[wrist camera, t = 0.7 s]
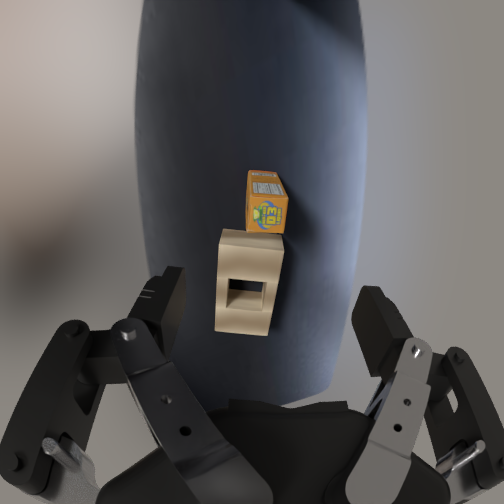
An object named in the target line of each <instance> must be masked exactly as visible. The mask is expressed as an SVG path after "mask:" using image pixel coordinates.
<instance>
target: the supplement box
mask: <svg viewBox="0 0 504 504" xmlns="http://www.w3.org/2000/svg"><path fill="white" fill-rule="evenodd" d="M288 200H289V198H288V196H287V194H286V192H285V190H284V187H283V185H282V183H281V181H280V179H279V177H278V175H277V173H276V172H269V171H258V170H249V172H248V181H247V194H246V231H247V233H284V228H285V221H286V214H287V207H288Z"/></svg>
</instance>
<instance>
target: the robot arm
mask: <svg viewBox="0 0 504 504" xmlns="http://www.w3.org/2000/svg"><path fill="white" fill-rule="evenodd" d="M185 304H186V280H185V268H181V267H173V266H167V268H166V270H165V272H164V274H163V275H162V277H161V276H154V277H153V278H151V279H150V280H149V281H147V283H146V284H145V286H144V288H143V291H141V293H140V295H139V297H138V298H137V300H136V302H135V304H134V306H133V308H132V309H131V311H130V313H129V315H128V317H127V318H125V319H121V320H119V321H117V322H116V323H114V325H113V326H112V327H111V329H110V330H99V331H90V329H89V326H88V325H87V324H86V323H85V322H83V321H81V320H70V321H67V322H65V323H63V324H62V325H61V326H60V327H59V328H58V329H57V331H56V333H55V334H54V336H53V337H52V339H51V341H50V342H49V344H48V346H47V348H46V349H45V351H44V353H43V354H42V356H41V358H40V360H39V361H38V363H37V365H36V367H35V369H34V371H33V373H32V374H31V377H30V378H29V380H28V382H27V384H26V386H25V388H24V390H23V392H22V394H21V397H20V398H19V401H18V403H17V405H16V407H15V409H14V412H13V414H12V416H11V418H10V421H9V423H8V426H7V428H6V431H5V433H4V436H3V439H2V441H1V444H0V474H1V476H2V477H3V479H4V480H6V481H7V482H8V483H10V484H12V485H13V486H15V487H17V488H19V489H20V490H21V491H23V492H24V493H26V494H27V495H30V496H32V497H33V498H35V499H38V500H39V501H42V502H44V503H48V504H463V503H465V502H467V501H469V500H471V499H473V498H475V497H476V496H478V495H480V494H482V493H484V492H486V491H487V490H489V489H491V488H492V487H494V486H496V485H497V484H499V483H500V482H502V481H504V428H503V426H502V423H501V421H500V419H499V416H498V414H497V411H496V409H495V407H494V405H493V402H492V400H491V398H490V396H489V394H488V392H487V390H486V387H485V386H484V384H483V382H482V380H481V377H480V376H479V374H478V372H477V370H476V368H475V366H474V364H473V362H472V360H471V359H470V357H469V355H468V354H467V353H466V352H465V351H464V350H463V349H461V348H458V347H450V348H449V349H448V351H447V352H446V354H445V355H442V354H438V353H433V352H432V349H431V347H430V346H429V345H428V344H427V343H426V342H425V341H423V340H421V339H419V338H414V337H413V335H412V333H411V332H410V330H409V328H408V326H407V324H406V322H405V321H404V320H403V317H402V315H401V314H400V313H399V310H398V309H397V307H396V306H395V304H394V303H393V302H392V301H390V299H389V298H386V297H385V295H384V293H383V292H382V290H381V288H380V287H377V286H363V287H362V289H361V291H360V293H359V296H358V299H357V301H356V304H355V307H354V309H353V312H352V319H351V320H352V326H353V328H354V331H355V333H356V336H357V339H358V342H359V344H360V347H361V350H362V353H363V355H364V358H365V361H366V364H367V367H368V370H369V373H370V375H371V377H378V376H381V378H382V380H381V381H380V383H379V384H378V387H377V389H376V391H375V393H374V395H373V397H372V399H371V401H370V403H369V405H368V407H367V409H366V411H365V413H364V414H363V413H361V412H358V411H355V410H351V409H348V405H347V401H335V402H319V403H314V404H310V405H306V406H302V407H297V408H291V409H290V408H285V407H281V406H277V405H273V404H269V403H265V402H261V401H250V400H237V399H229V404H228V407H223V408H218V409H214V410H211V411H208V412H206V413H205V411H204V410H203V408H202V407H201V405H200V404H199V403H198V401H197V400H196V398H195V397H194V395H193V394H192V392H191V391H190V389H189V388H188V386H187V385H186V383H185V382H184V380H183V379H182V377H181V375H180V374H179V372H178V371H177V369H176V367H175V366H174V364H173V363H172V362H171V361H168V360H169V357H170V354H171V350H172V347H173V344H174V341H175V338H176V334H177V331H178V328H179V325H180V322H181V319H182V316H183V313H184V309H185ZM121 383H127V385H128V388H129V390H130V392H131V394H132V397H133V399H134V401H135V403H136V405H137V407H138V409H139V411H140V413H141V416H142V417H143V420H144V421H145V424H146V426H147V428H148V430H149V432H150V434H151V436H152V437H153V439H154V441H155V443H156V445H157V446H158V448H156V449H155V450H153V451H152V452H151V453H149V454H148V455H147V456H145V457H144V458H142V459H141V460H140V461H138V462H137V463H135V464H134V465H133V466H131V467H130V468H128V469H127V470H125V471H124V472H122V473H121V474H119V475H118V476H116V477H115V478H113V479H112V480H110V481H109V482H107V483H106V484H105V485H104V486H103V487H102V488H101V489H100V488H99V487H98V485H97V484H96V481H95V467H94V464H93V462H92V460H91V458H90V457H89V456H88V455H87V454H86V453H85V450H86V446H87V442H88V439H89V436H90V432H91V429H92V425H93V422H94V419H95V416H96V413H97V410H98V407H99V404H100V400H101V397H102V394H103V392H104V389H105V386H106V384H121ZM452 389H453V391H454V393H455V396H456V398H457V401H458V408H457V410H456V412H455V413H454V412H453V410H452V407H451V404H450V402H449V399H448V397H447V394H448V393H449V392H450V391H451V390H452ZM423 416H424V418H425V421H426V425H427V428H428V431H429V435H430V438H431V442H432V445H433V449H434V453H435V457H436V461H437V464H436V469H434V468H432V467H431V466H430V465H428V464H427V463H426V462H424V461H423V460H422V459H421V458H420V457H418V456H417V455H416V454H415V453H413V452H412V449H413V447H414V444H415V441H416V438H417V435H418V432H419V429H420V426H421V423H422V420H423Z"/></svg>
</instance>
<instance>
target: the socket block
mask: <svg viewBox="0 0 504 504" xmlns="http://www.w3.org/2000/svg"><path fill="white" fill-rule="evenodd" d="M283 255H284V247H283V241H282V235H277V234H268V233H247V231H240V230H230V229H223V232H222V235H221V239H220V243H219V254H218V273H217V293H216V317H215V331H222V332H231V333H241V334H252V335H263V336H267V335H268V330H269V325H270V320H271V316H272V311H273V306H274V301H275V296H276V291H277V286H278V281H279V276H280V271H281V265H282V260H283ZM230 278H231V279H240V280H250V281H260V282H264V283H263V289H262V292H254V291H244V290H234V289H229V279H230Z"/></svg>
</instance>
